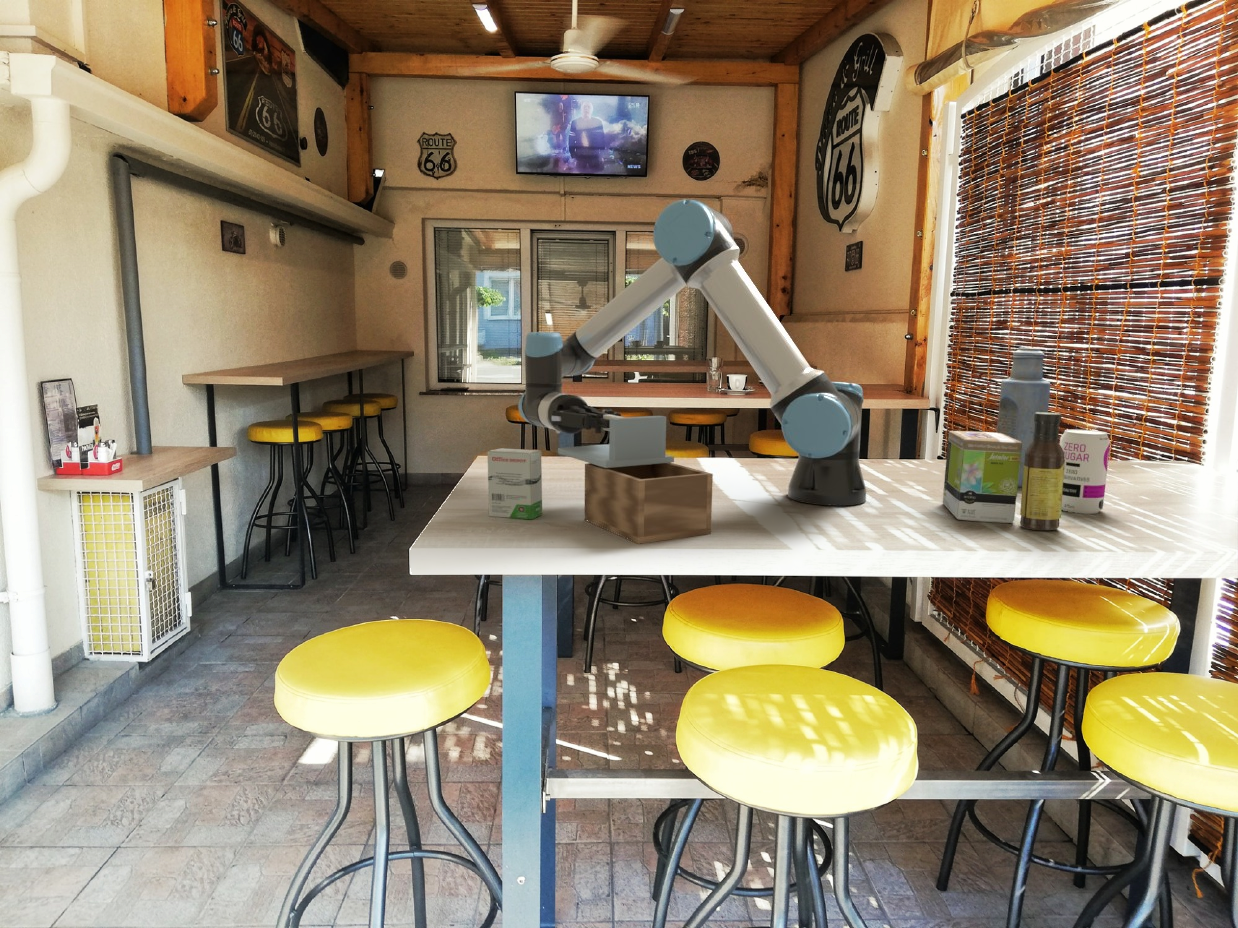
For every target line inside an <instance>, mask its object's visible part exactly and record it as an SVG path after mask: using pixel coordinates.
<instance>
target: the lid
mask: <svg viewBox="0 0 1238 928" xmlns="http://www.w3.org/2000/svg"><path fill="white" fill-rule="evenodd" d="M623 417H624V418H610V431H609V436H608V438H609V442H608V444H594V445H593V444H591V445H580V446H578V445H577V446H564V447H557V454H560V455H562V456H566V457H569V458H573V459H576V460H578V461H582V462H585V463H591V464H594V465H597V466H601V467H604V468H612V467H624V466H636V465H647V464H659V463H674V462H675V456H674V455H669V454H666V453H667V452H666V450H667V449H666V447H667V444H666V443H667V440H666V439H667V416H664V415H645V416H630V417H629V416H627V417H625V416H623Z"/></svg>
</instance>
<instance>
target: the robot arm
mask: <svg viewBox="0 0 1238 928" xmlns="http://www.w3.org/2000/svg"><path fill="white" fill-rule="evenodd" d="M733 231H734V230H733V226H732V224H731V223H730V221H729V219H728V218H727V217H726V216H725V215H724V214H723V213H722V212H720V211H719V210H717V209H714V208H712V207H709V206H708V205H706V204H705V203H704V202H702V201H701V200H696V199H681V200H680V199H679V200H676V201H674V202H672V203H670V204H668V205H667V206H666V207H664V209H663V210H662V211H661V212H660V213H659V215H658V217H657V219H656V221H655V223H654V227H653V232H652V233H653V234H652V239H653V244H654V247H655V250H656V251H657V254H659V256H660V257H661V258H660V259H658V260H657V261H656V262H655V263H653V265H651V266H650V267H649V268H648V269H647V270H645V271H644V272H643V273H642V274H640V275H639V276H638V277H637V278H636V279H634V281H632V282H631V283H630V284H629V285H628V286H626V287H625V288H624V289H623V290H621V291H620V293H618V294H617V295H616V296H615V297H613V298H612V299H611V300H610V301H609V302H607V303H606V304H605V305H604V306H603V307H602V308H601V309H599V311H597V312H596V313H594V315H592V316H591V317H590V318H589V319H588V320H586V321H585V322H584V323H583V324H582V325H580V326H579V327H578V328H577V329H576V330H575V331H574V332H573V333H572V334H570V335H569V336H568V337H566V338H565V339H564V340H563V336H562V335H561V333H560V332H555V331H554V332H550V331H549V332H548V331H547V332H546V331H545V332H544V331H541V332H539V331H537V332H536V331H535V332H533V331H532V332H529V333H527V334H526V336H525V344H524V345H525V347H524V360H525V361H524V368H525V370H524V371H525V388H524V390H525V391H524V393H522V394H521V397H520V398H519V400H518V412H519V414H520V416H521V418H522V419H523V420H524V421H526V422H527V423H529V424H531V425H533V426H536V427H542V428H545V429H551V430H554V431H555V433H556V434H560V433H563V434H570V435H573V434H578V433H580V432H581V431H583V430H586V431H589V430H591V429H594V430H595V431H594V432H595V434H602V430H603V431H607V432H610V418H624V417H625V416H622V413H620V412H617V411H615V410H613V409H612V408H606V409H605V408H604V409H602V410H601V411H602V412H601V411H599V410H598V408H594V407H591V405H589V404H588V403H587V401H586V400H585V399H584V398H582V397H581V396H578V395H574V394H568V393H564V392H563V377H569V376H570V377H571V376H572V377H573V376H580V375H582V374H586V373H587V372H588V371H590V370H591V369H592V367H593V366H594V364H595V361H596V359H598V358H599V357H600V356H602V355H603V354H605V352H607V350H609V349H610V348H611V347H612V346H614V345H615V344H616V343H617V342H618V341H620V340H621V339H622V338H624V337H625V336H626V335H627V334H628V333H630V332H631V331H632V330H633V329H634V328H636V327H637V326H638V325H640V324H641V323H642V322H643V321H644V320H646V319H647V318H648V317H649V316H651V314H653V313H654V312H655V311H657V310H658V309H659V308H661V307H662V306H663V305H664V304H665V303H666V302H667V301H669V300H670V299H671V298H673V297H674V296H675V295H676V294H677V293H679V292H680V291H681V290H683V289H684V288H685V287H688V288H692V289H697V290H699V291H700V292H701V294H702V295H703V296H704V298H705V300H706V301H707V302H708V304H709V306H710V307H711V308H712V310H713V311H714V312H715V314H716V315H717V317H718V318H719V320H720V321H721V323H722V324H723V326H724V328H725V329H726V330H727V331H728V333H729V335H730V336H731V337H732V339H733V340H734V342H735V343H736V345H737V346H738V347H739V349H740V351H741V352H742V354H743V355H744V357H745V358H746V360H747V361H748V362H749V363H750V365H751V367H752V368H753V370H754V371H755V373H756V374H757V375H758V378H759V379H760V380H761V382H762V383H763V385H764V386H765V387H766V389H767V391H768V392H769V393H770V397H771V398H770V404H769V408H770V410H771V411H772V413H773V414H774V416H775V417H776V419H777V420H778V422H779V423H780V425H781V431H782V434H783V437H784V440H785V442H786V444H787V445H788V446H789V448H791V449H792V450H793V451H794V452H795V453H796V454H798V458H797V459H798V460H797V462H796V465H795V467H794V470H793V472H792V475H791V478H790V480H789V482H788V487H787V488H788V489H787V496H788V498H790V499H792V500H794V501H797V502H801V503H805V504H813V505H821V506H853V505H854V506H855V505H859V504H863V503H865V502H867V501H866V500H867V488H866V487H867V486H866V484H865V481H864V476H863V473H862V468H861V466H860V449H861V447H860V446H861V431H862V430H861V429H862V414H863V412H862V411H863V403H864V400H865V399H864V395H863V394H864V391H863V390H864V389H863V388H862V386H861V385H859V384H858V383H852V382H844V381H842V382H841V381H831V379H830V378H829V377H828V375H827V373H826V372H825V371H824V370H821V369H815V368H813V367H811V365H810V364H809V362H808V361H807V360H806V358H805V357H804V355H803V354H802V353H801V351H800V350H799V348H798V346H797V345H796V344H795V343H794V341H793V339H792V338H791V336H790V335H789V333H788V332H787V330H786V329H785V328H784V326H783V324H782V323H781V322H780V321H779V319H778V318H777V316H776V314H775V313H774V311H773V310H772V308H771V307H770V306H769V304H768V303H767V302H766V300H765V298H764V297H763V295H762V294H761V293H760V292H759V290H758V288H757V287H756V285H755V284H754V283H753V280H751V278H750V277H749V276H748V274H747V273H746V272H745V270H744V268H743V267H742V265H741V264H740V263H739V256H740V252H741V249H740V248H739V246H738V245H737V243H736V241H735V240H734V238H735V237H734V232H733Z"/></svg>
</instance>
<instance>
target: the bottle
mask: <svg viewBox="0 0 1238 928" xmlns="http://www.w3.org/2000/svg"><path fill="white" fill-rule="evenodd" d="M1012 358H1013V360H1012V366H1011V369H1010V373H1009V374H1010V376H1009V377H1008V378H1004V379H1002V380H1001V383H1000V384H1001V385H1000V393H999V394H1000V395H999V403H998V414H997V424H996V426H997V427H996V433H1002V434H1004V435H1006V436H1009V437H1011V438H1013V439H1016V440H1018V441H1020V442H1022V451H1021V460H1020V469H1019V478H1018V488H1019V487H1021V488H1022V482H1023V469H1024V464H1025V452H1026V450H1027V448H1028V447H1029V445H1030V444H1031V443H1032V442H1033V440H1034V432H1035V421H1034V416H1035V413H1036V412H1044V413H1049V402H1050V394H1051V382H1050V381H1048V380H1045V379H1043V377H1044V370H1043V367H1044V366H1043V363H1044V362H1043V361H1044V358H1045V353H1044V352H1043V351H1041V348H1039V347H1029V346H1028V347H1018V349H1017V350H1015V351H1014V352H1013V355H1012Z"/></svg>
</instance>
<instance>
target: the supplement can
mask: <svg viewBox="0 0 1238 928" xmlns="http://www.w3.org/2000/svg"><path fill="white" fill-rule="evenodd" d="M1059 439H1060V440H1059V444H1060V446H1061V448H1062V449H1063V451H1064V456H1065V458H1064V459H1065V466H1064V480H1063V492H1062V507H1061V511H1062V510H1063V512H1066V511H1068V512H1067V513H1072V512H1075V513H1074V514H1083V515H1088V514H1089V515H1093V514H1098V513H1100V511H1102V510H1103V509H1104V502H1105V495H1106V494H1105V493H1106V485H1107V475H1108V465H1109V464H1108V463H1109V455H1110V448H1111V440H1110V438H1109V437H1108V432H1106V431H1101V430H1093V429H1090V430H1089V429H1065V430H1064V432H1063V434H1062V435H1061V436H1060V437H1059Z"/></svg>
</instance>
